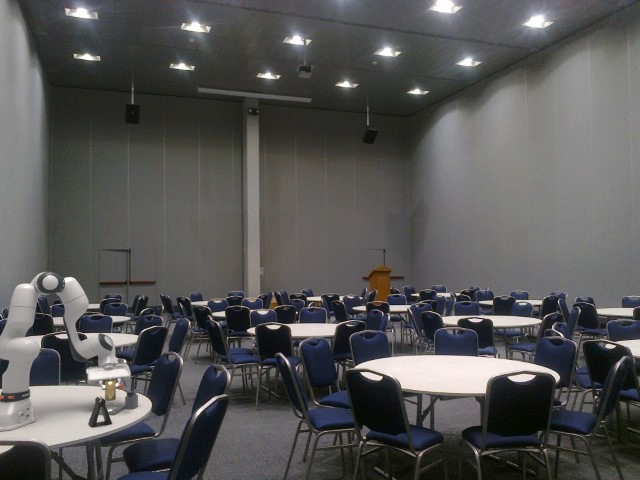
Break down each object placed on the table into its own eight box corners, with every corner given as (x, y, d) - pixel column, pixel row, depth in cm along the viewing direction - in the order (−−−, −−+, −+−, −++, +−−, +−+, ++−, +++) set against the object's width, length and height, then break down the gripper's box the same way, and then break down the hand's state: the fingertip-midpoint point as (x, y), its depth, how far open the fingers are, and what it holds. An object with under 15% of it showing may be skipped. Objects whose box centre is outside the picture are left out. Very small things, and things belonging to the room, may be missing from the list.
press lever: (129, 396, 283) (130, 390, 285) (134, 396, 283) (135, 390, 284) (116, 389, 268) (117, 383, 270) (121, 389, 268) (122, 383, 269)
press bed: (114, 415, 269) (114, 412, 269) (94, 414, 270) (94, 412, 270) (125, 408, 281) (125, 405, 281) (105, 408, 282) (105, 405, 282)
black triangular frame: (108, 421, 259) (108, 395, 260) (112, 424, 254) (112, 397, 255) (88, 424, 254) (88, 397, 254) (91, 427, 249) (91, 400, 249)
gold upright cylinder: (113, 400, 273) (113, 379, 273) (103, 400, 274) (103, 379, 274) (117, 398, 278) (117, 377, 278) (107, 398, 279) (107, 377, 279)
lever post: (134, 408, 280) (134, 391, 281) (125, 408, 281) (125, 390, 281) (137, 406, 285) (137, 388, 285) (128, 406, 285) (128, 388, 285)
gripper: (86, 363, 278) (88, 387, 269) (129, 359, 287) (132, 382, 278) (85, 371, 281) (87, 394, 272) (127, 366, 291) (131, 389, 282)
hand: (110, 388), depth 275 cm, fingers closed on gold upright cylinder, 5 cm apart
